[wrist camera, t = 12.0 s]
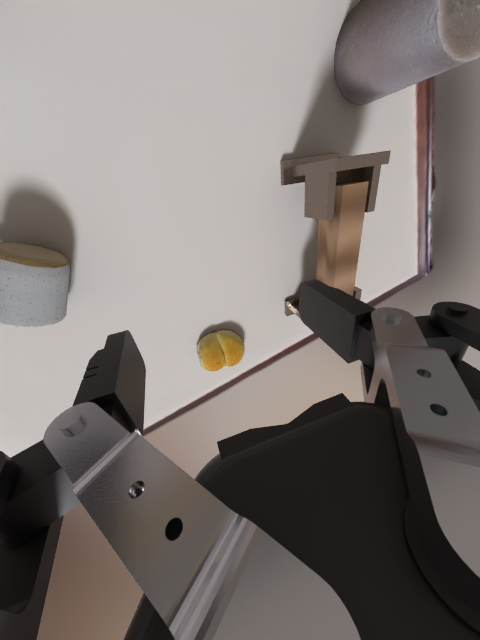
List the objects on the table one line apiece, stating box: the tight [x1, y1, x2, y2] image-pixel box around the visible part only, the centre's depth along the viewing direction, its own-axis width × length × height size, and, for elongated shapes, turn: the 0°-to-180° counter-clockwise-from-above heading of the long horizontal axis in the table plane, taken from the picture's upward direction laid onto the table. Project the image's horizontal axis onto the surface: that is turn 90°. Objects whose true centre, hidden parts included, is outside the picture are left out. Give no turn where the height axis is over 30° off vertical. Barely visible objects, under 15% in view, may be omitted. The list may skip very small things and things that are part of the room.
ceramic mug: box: [0, 242, 70, 327], centre depth 27 cm, size 11×8×8 cm
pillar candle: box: [334, 0, 480, 104], centre depth 24 cm, size 10×10×15 cm
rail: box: [316, 181, 369, 296], centre depth 33 cm, size 18×4×4 cm, turn 8°
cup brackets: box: [281, 151, 390, 319], centre depth 36 cm, size 25×9×11 cm, turn 8°
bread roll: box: [197, 330, 244, 371], centre depth 43 cm, size 8×9×4 cm
